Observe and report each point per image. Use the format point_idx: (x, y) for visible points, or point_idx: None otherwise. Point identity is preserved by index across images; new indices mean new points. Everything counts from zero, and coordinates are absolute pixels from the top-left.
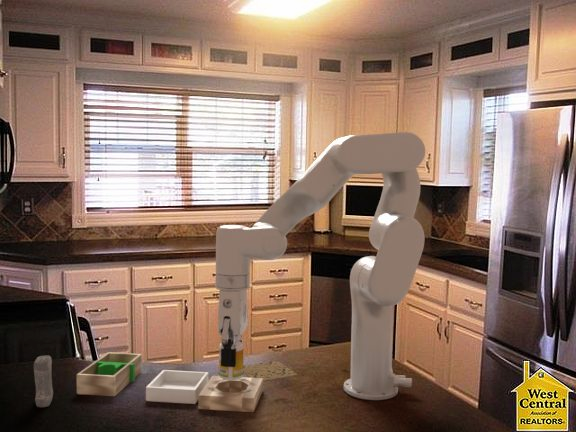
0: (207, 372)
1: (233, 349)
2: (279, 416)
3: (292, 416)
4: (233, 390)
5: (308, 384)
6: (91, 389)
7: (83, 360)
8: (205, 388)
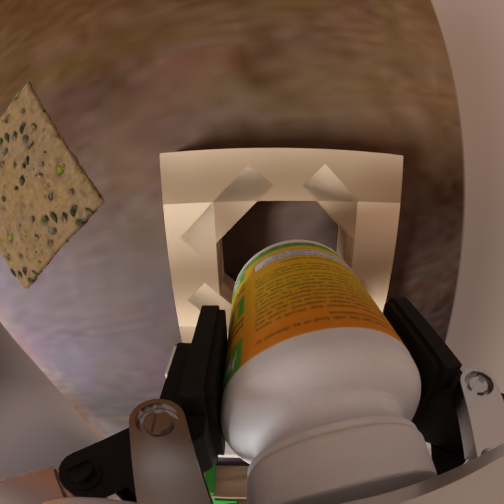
0: (166, 376)
1: (480, 370)
2: (393, 67)
3: (384, 30)
4: (221, 260)
5: (94, 19)
6: None
7: None
8: None
